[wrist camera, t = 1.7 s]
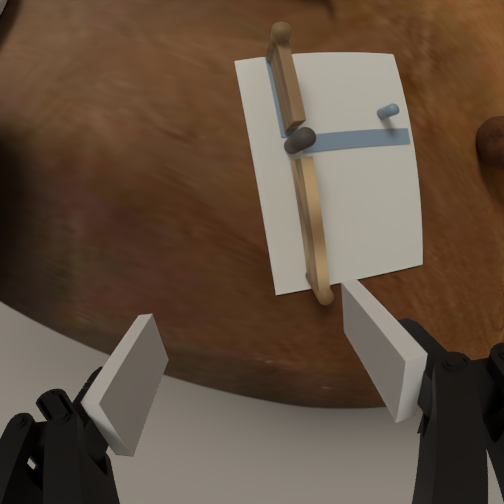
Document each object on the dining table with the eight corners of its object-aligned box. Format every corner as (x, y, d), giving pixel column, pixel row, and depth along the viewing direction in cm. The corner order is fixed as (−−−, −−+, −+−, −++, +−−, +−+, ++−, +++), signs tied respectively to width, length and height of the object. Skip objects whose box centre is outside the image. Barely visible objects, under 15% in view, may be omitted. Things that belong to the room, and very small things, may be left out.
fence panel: (288, 161, 28) (299, 157, 22) (302, 159, 28) (316, 155, 22) (306, 282, 31) (318, 306, 25) (319, 280, 31) (334, 303, 25)
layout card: (275, 293, 32) (279, 306, 29) (234, 62, 26) (233, 50, 23) (420, 263, 32) (435, 272, 28) (391, 55, 25) (404, 45, 22)
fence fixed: (284, 155, 28) (297, 148, 21) (264, 55, 26) (270, 22, 18) (300, 153, 28) (318, 145, 21) (279, 53, 26) (289, 21, 18)
